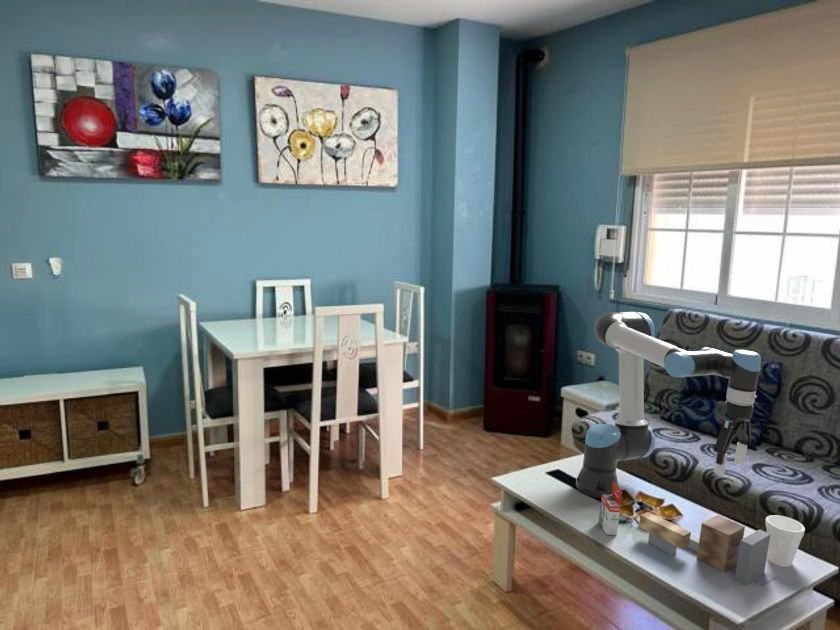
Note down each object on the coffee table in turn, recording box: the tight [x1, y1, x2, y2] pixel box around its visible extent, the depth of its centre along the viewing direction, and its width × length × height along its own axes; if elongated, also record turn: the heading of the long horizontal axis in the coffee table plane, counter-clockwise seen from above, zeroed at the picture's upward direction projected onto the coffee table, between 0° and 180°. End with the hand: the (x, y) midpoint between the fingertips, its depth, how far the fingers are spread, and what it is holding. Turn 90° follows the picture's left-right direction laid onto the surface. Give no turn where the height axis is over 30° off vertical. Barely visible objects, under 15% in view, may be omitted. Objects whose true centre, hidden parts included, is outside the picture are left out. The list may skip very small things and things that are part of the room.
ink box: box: [598, 481, 623, 536], centre depth 193 cm, size 4×8×15 cm, turn 2°
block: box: [696, 514, 746, 573], centre depth 176 cm, size 8×9×11 cm
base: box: [685, 529, 771, 586], centre depth 178 cm, size 26×11×13 cm, turn 37°
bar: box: [638, 511, 692, 549], centre depth 182 cm, size 14×4×4 cm, turn 37°
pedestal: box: [647, 532, 678, 556], centre depth 183 cm, size 8×2×5 cm, turn 37°
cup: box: [765, 514, 806, 568], centre depth 178 cm, size 10×10×13 cm
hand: (729, 468), depth 186 cm, fingers open, 13 cm apart
